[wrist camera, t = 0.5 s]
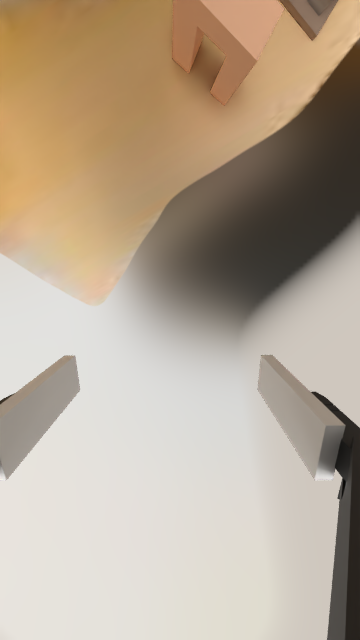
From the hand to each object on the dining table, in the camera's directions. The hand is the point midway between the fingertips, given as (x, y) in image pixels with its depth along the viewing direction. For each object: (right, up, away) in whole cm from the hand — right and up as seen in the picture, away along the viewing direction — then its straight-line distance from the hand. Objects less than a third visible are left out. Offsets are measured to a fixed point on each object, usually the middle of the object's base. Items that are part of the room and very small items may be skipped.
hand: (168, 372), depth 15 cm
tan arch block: (+4, +35, +11) cm, 37 cm away
